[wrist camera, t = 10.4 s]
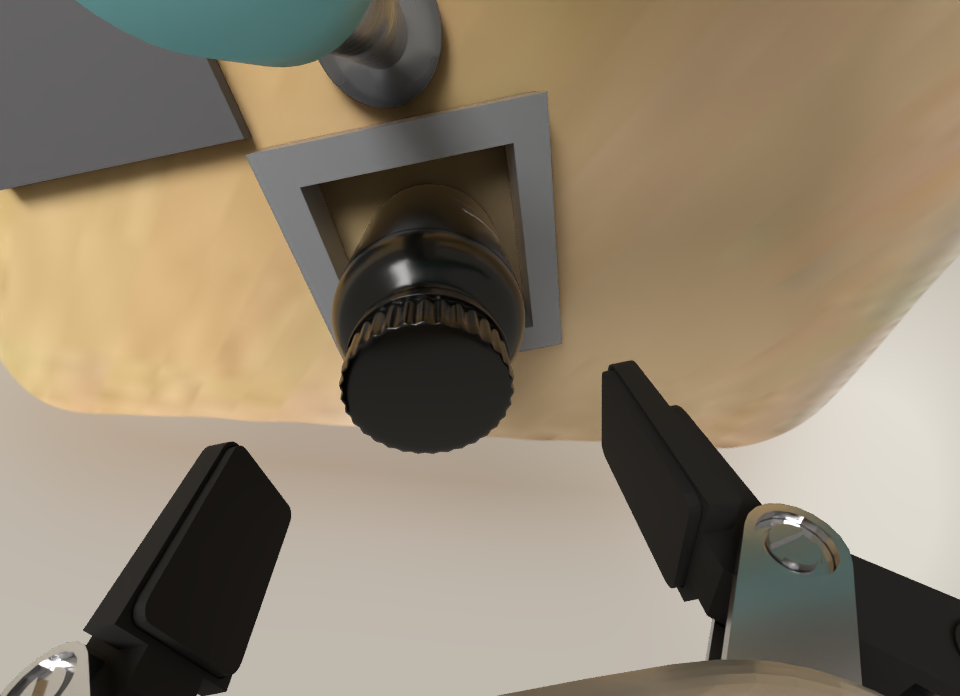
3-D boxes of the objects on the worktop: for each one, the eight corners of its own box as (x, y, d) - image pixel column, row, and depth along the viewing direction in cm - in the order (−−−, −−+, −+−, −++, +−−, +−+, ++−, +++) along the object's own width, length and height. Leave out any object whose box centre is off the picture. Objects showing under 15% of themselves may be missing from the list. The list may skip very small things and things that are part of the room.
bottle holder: (268, 147, 17) (245, 154, 15) (533, 91, 17) (547, 91, 15) (361, 359, 24) (355, 384, 22) (550, 321, 24) (561, 343, 22)
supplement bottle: (512, 199, 19) (596, 316, 9) (478, 315, 23) (511, 487, 13) (374, 162, 18) (300, 255, 8) (359, 292, 21) (296, 469, 11)
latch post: (288, -42, 14) (-205, -485, 3) (423, -71, 14) (391, -629, 3) (340, 118, 17) (176, 169, 6) (452, 94, 16) (489, 104, 6)
